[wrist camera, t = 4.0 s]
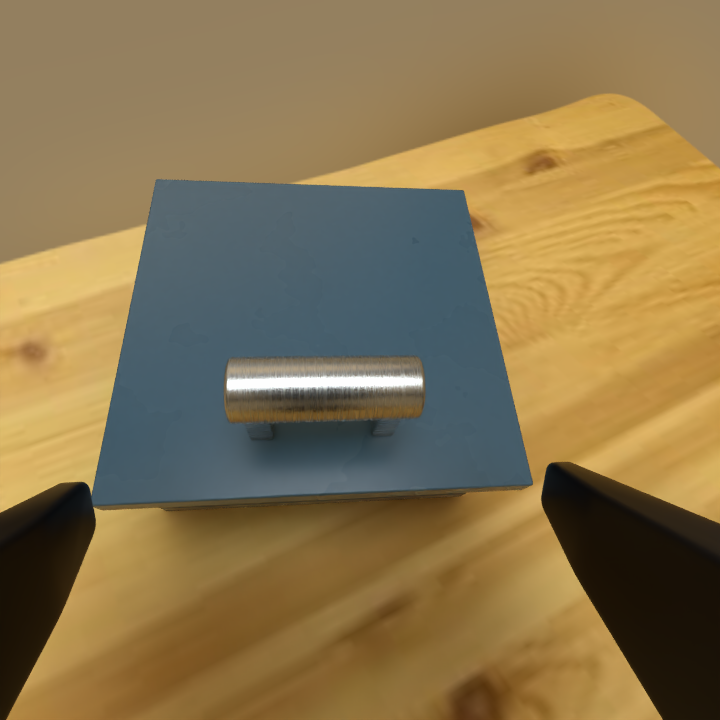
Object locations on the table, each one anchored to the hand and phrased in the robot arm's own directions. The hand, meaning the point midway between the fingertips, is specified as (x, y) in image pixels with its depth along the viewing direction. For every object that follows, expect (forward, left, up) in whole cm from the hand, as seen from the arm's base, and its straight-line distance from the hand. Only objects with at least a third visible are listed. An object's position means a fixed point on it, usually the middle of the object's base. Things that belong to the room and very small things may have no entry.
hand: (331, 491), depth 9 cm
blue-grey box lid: (+5, +5, -5) cm, 8 cm away
